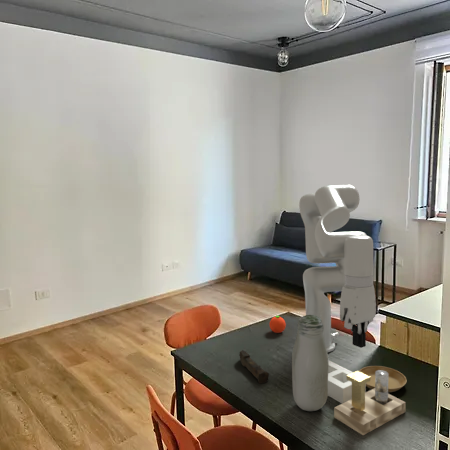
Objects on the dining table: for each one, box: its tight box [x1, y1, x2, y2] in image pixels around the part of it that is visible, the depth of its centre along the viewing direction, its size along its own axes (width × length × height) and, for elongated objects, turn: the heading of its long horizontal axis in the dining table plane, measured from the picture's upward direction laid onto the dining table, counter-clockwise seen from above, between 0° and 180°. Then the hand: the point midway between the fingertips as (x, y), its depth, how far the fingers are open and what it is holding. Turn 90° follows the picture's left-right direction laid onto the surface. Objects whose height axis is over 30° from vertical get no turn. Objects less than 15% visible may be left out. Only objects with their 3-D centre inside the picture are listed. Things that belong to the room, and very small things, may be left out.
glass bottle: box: [291, 314, 329, 412], centre depth 123 cm, size 10×10×28 cm
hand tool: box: [238, 349, 270, 384], centre depth 149 cm, size 19×4×5 cm, turn 20°
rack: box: [327, 359, 367, 404], centre depth 135 cm, size 10×16×5 cm, turn 33°
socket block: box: [333, 388, 407, 436], centre depth 120 cm, size 18×10×3 cm, turn 123°
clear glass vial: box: [375, 370, 389, 405], centre depth 123 cm, size 4×4×11 cm
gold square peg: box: [347, 370, 370, 411], centre depth 117 cm, size 4×4×9 cm
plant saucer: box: [358, 365, 407, 394], centre depth 137 cm, size 15×15×3 cm
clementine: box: [268, 315, 287, 334], centre depth 182 cm, size 8×7×7 cm
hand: (359, 345), depth 118 cm, fingers closed
